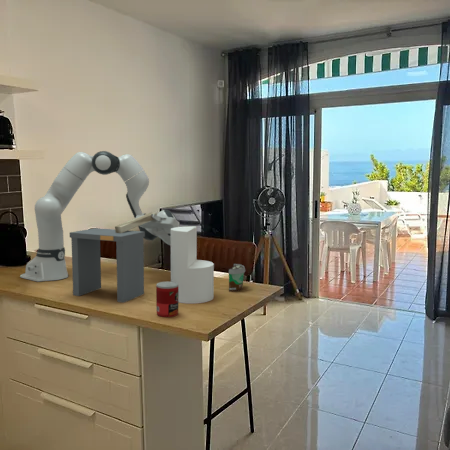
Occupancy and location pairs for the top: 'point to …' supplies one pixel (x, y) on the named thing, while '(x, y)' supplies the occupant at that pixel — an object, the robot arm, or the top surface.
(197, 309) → the top surface
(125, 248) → the grey step stool
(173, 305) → the canned food
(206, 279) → the white stepped pillar
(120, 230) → the bar
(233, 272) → the food container
